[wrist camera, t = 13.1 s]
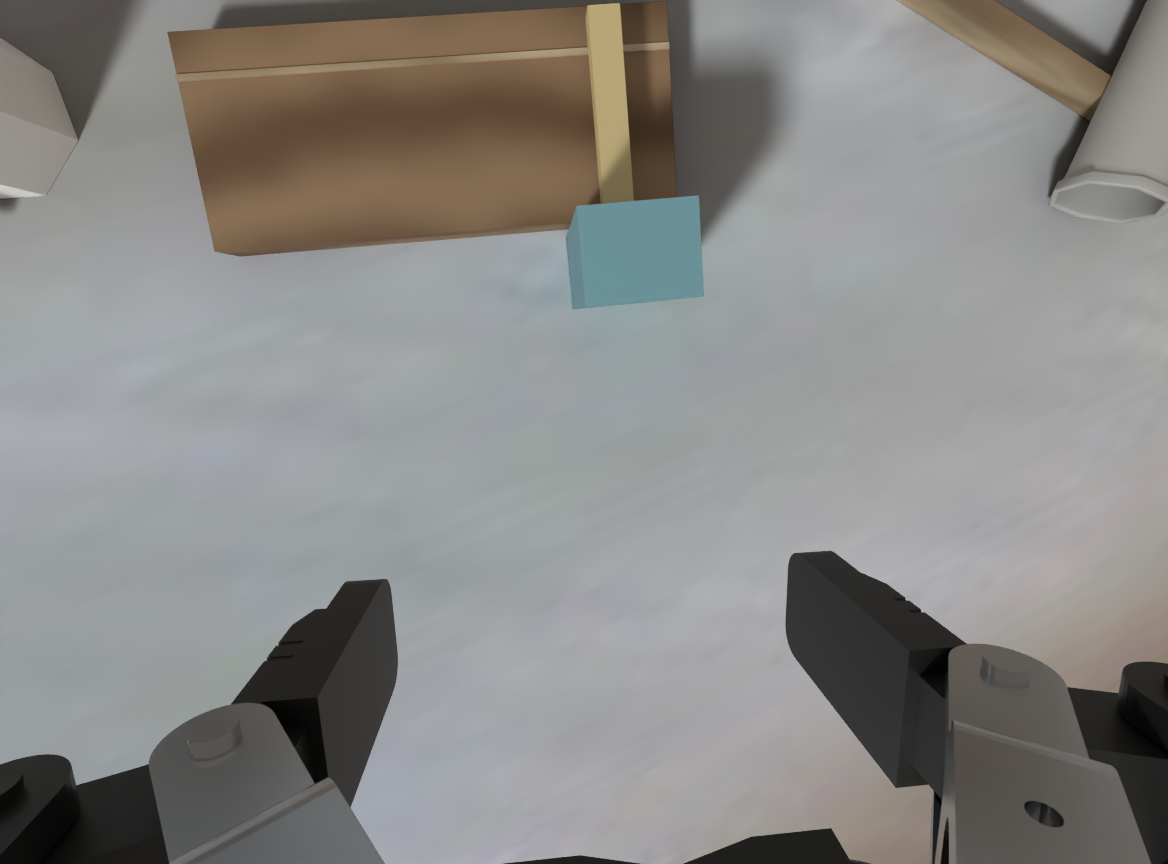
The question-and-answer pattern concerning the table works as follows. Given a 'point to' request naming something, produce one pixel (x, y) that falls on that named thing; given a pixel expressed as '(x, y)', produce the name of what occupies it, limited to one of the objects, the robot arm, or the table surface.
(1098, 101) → the tube rack
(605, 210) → the teal ice pop
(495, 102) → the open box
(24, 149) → the mug
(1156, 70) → the tube
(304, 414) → the table surface
